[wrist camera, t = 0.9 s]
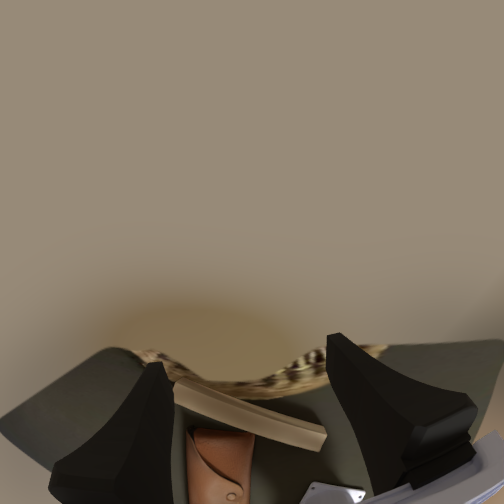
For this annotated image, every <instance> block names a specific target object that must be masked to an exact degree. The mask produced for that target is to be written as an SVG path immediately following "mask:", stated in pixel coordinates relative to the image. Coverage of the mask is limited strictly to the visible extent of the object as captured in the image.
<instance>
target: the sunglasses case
mask: <svg viewBox="0 0 504 504" xmlns="http://www.w3.org/2000/svg"><path fill="white" fill-rule="evenodd" d="M254 442H255V434H254V433H251V432H243V433H242V432H232V431H222V430H213V429H204V428H194V426H190V427H188V428H187V430H186V459H187V478H188V492H189V504H250V487H251V468H252V467H251V466H252V457H253V449H254Z"/></svg>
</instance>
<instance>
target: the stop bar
mask: <svg viewBox="0 0 504 504" xmlns="http://www.w3.org/2000/svg"><path fill="white" fill-rule="evenodd" d="M173 392H174V402H175V403H177V404H179V405H182V406H184V407H186V408H188V409H191V410H193V411H196V412H198V413H200V414H203V415H205V416H208V417H210V418H213V419H215V420H218V421H221V422H223V423H226V424H229V425H231V426H234V427H237V428H240V429H242V430H245V431H248V432H251V433H254V434H257V435H260V436H263V437H266V438H270V439H273V440H276V441H279V442H283V443H286V444H290V445H293V446H297V447H301V448H304V449H308V450H312V451H316V452H319V451H320V449H321V447H322V445H323V443H324V441H325V439H326V437H327V433H326V431H325V429H324V427H323V426H321V425H317V424H314V423H310V422H307V421H303V420H300V419H296V418H293V417H290V416H286V415H283V414H280V413H277V412H274V411H271V410H268V409H265V408H262V407H259V406H256V405H253V404H250V403H247V402H245V401H242V400H239V399H236V398H234V397H231V396H228V395H226V394H223V393H221V392H218V391H216V390H213V389H211V388H208V387H206V386H203V385H201V384H198V383H196V382H194V381H191V380H189V379H187V378H184V377H182V378H180V379H179V380H178V381H176V382H175V385H174V388H173Z"/></svg>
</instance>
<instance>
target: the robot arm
mask: <svg viewBox="0 0 504 504" xmlns="http://www.w3.org/2000/svg"><path fill="white" fill-rule="evenodd" d="M326 371H327V374H328V377H329V380H330V383H331V386H332V388H333V390H334V392H335V394H336V396H337V398H338V400H339V402H340V404H341V406H342V408H343V410H344V412H345V414H346V415H347V417H348V419H349V421H350V423H351V425H352V428H353V430H354V432H355V435H356V438H357V440H358V443H359V446H360V449H361V452H362V455H363V458H364V461H365V464H366V467H367V471H368V474H369V477H370V481H371V485H372V489H373V493H374V497H372V498H369V499H366V500H363V501H361V500H362V498H363V497H364V495H365V491H364V490H359V489H352V488H346V487H340V486H335V485H329V484H324V483H319V482H312V483H311V484H310V486H309V488H308V490H307V491H306V493H305V495H304V497H303V498H302V500H301V502H300V503H299V504H481V503H483V502H484V501H485V500H487V499H488V498H489V497H491V496H493V495H494V494H495V493H496V492H497V491H499V490H500V489H501V488H502V487H503V486H504V440H503V439H502V437H501V436H500V435H499V433H498V432H497V431H496V430H493V431H492V432H490V433H489V434H487V435H486V436H484V437H482V438H481V439H479V440H478V441H476V442H475V443H474V444H473V445H471V444H470V442H469V440H470V439H471V436H470V435H469V434H468V430H469V428H470V427H471V425H472V423H473V422H474V420H475V418H476V416H477V412H478V408H477V406H476V405H475V404H474V402H473V401H472V400H471V399H470V398H469V396H468V395H467V394H466V393H460V392H455V391H449V390H444V389H441V388H437V387H433V386H430V385H427V384H424V383H421V382H419V381H416V380H414V379H411V378H409V377H407V376H405V375H403V374H401V373H398V372H396V371H395V370H393V369H391V368H389V367H387V366H386V365H384V364H383V363H381V362H379V361H378V360H376V359H375V358H373V357H372V356H370V355H369V354H368V353H366V352H365V351H363V350H362V349H361V348H359V347H358V346H357V345H356V344H354V343H353V342H351V341H350V340H349V339H348V338H347V337H345V336H344V335H343V334H341V333H336V334H331V335H327V348H326ZM174 414H175V411H174V392H173V390H172V387H171V384H170V382H169V379H168V376H167V374H166V371H165V368H164V366H163V363H162V362H151V363H148V364H147V366H146V368H145V369H144V371H143V372H142V374H141V376H140V377H139V379H138V381H137V382H136V384H135V385H134V387H133V389H132V390H131V392H130V393H129V395H128V396H127V398H126V399H125V400H124V402H123V403H122V405H121V406H120V407H119V409H118V410H117V411H116V412H115V414H114V415H113V416H112V417H111V419H110V420H109V421H108V422H107V423H106V424H105V425H104V426H103V427H102V428H101V429H100V430H99V431H98V432H97V433H96V434H95V435H94V436H93V437H92V438H90V439H89V440H88V441H87V442H86V443H84V444H83V445H82V446H81V447H79V448H78V449H76V450H75V451H74V452H72V453H71V454H69V455H67V456H66V457H64V458H63V459H61V460H59V461H57V462H56V463H55V464H54V467H53V470H52V474H51V478H50V482H49V486H48V490H49V491H50V493H51V494H52V495H53V496H54V497H55V498H56V499H57V500H58V501H60V502H61V503H62V504H174V503H173V493H172V481H171V446H172V435H173V425H174ZM312 487H315V488H313V489H312ZM360 495H361V496H360ZM359 496H360V497H359Z"/></svg>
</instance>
